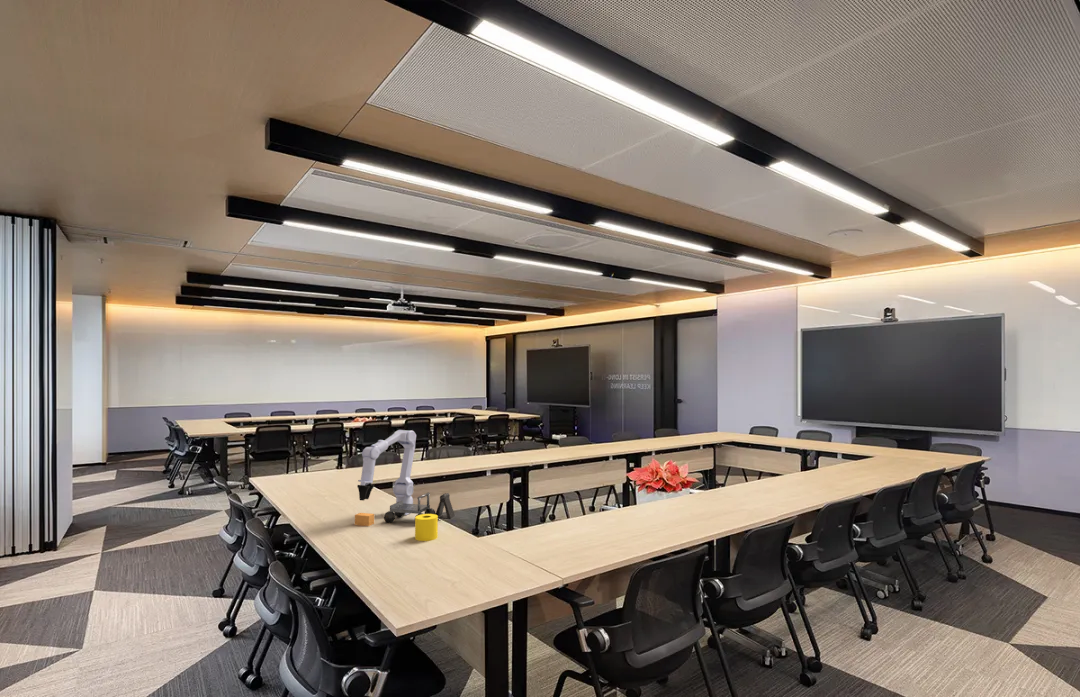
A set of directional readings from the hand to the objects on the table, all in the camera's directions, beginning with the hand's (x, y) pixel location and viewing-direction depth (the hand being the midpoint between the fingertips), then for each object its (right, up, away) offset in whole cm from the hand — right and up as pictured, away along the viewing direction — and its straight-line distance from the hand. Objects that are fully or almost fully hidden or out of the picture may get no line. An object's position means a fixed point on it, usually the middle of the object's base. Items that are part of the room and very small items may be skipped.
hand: (364, 499), depth 267 cm
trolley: (+21, -13, +8) cm, 26 cm away
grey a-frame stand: (+37, -13, +15) cm, 42 cm away
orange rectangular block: (0, -13, +2) cm, 13 cm away
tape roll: (+35, -12, -21) cm, 42 cm away
